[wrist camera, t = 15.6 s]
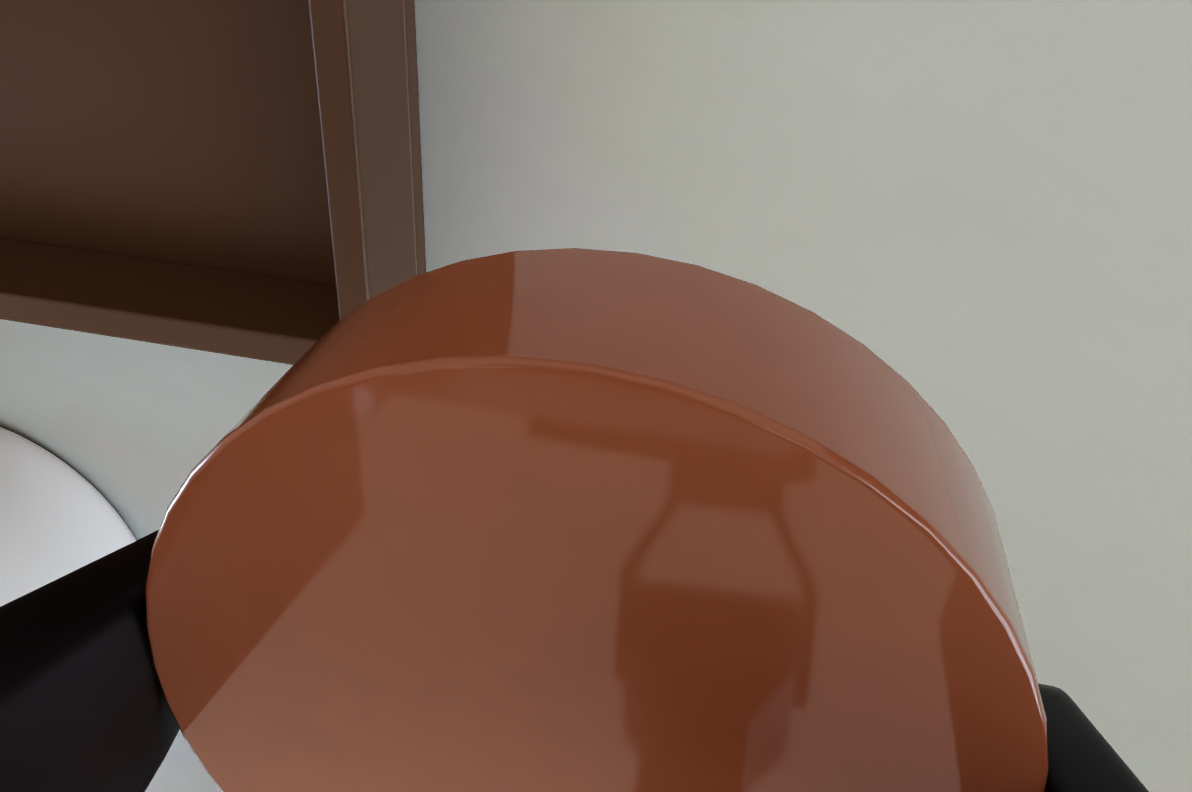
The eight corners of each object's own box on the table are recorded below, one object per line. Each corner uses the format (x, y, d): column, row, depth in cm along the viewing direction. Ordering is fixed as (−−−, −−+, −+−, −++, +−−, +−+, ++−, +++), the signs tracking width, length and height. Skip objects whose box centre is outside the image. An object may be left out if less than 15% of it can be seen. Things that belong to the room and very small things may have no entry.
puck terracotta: (1113, 283, 7) (1230, 469, 5) (894, 841, 11) (912, 1078, 9) (242, 165, 8) (45, 282, 6) (318, 717, 12) (213, 903, 10)
